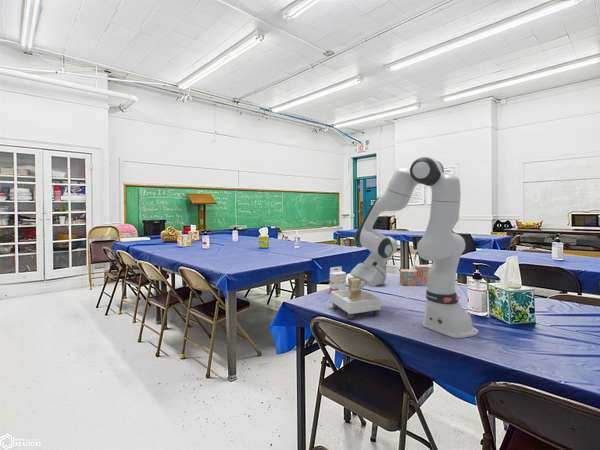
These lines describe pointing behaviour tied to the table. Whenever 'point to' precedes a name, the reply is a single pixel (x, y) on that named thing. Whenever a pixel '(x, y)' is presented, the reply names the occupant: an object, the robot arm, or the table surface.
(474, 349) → the table surface
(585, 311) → the table surface
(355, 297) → the maple part block
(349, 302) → the tray
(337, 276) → the ink cartridge box
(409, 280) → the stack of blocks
